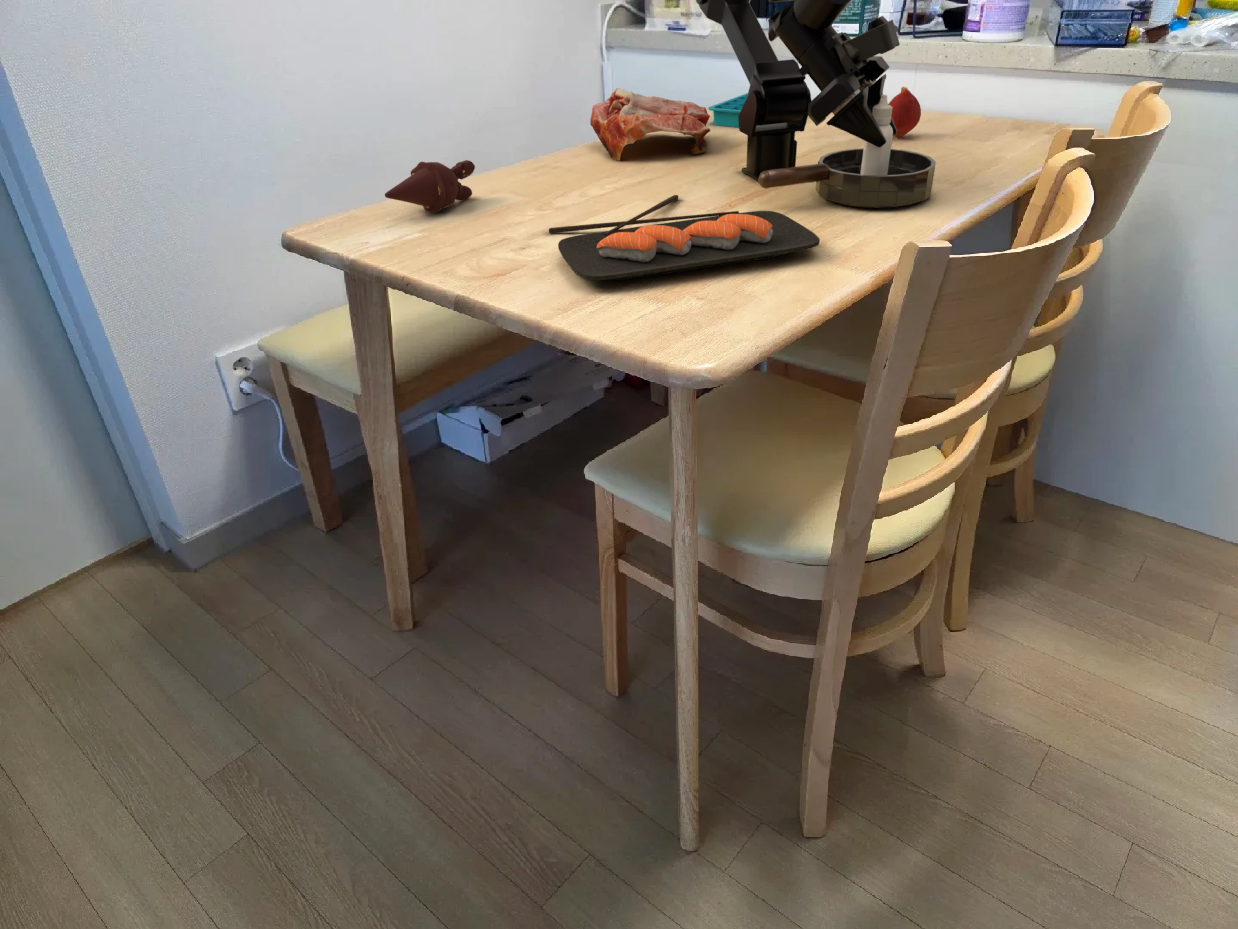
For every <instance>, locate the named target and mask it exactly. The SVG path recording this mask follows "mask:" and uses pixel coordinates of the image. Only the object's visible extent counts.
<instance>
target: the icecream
mask: <svg viewBox="0 0 1238 929" xmlns="http://www.w3.org/2000/svg"><path fill="white" fill-rule="evenodd" d="M475 169H476V165H475V164H474V162H472V161H471V160H468V159H466V160H462V161H459V162H457V163H456V164H455V165H454V166H452V167H451V168H449V167H448V166H446V165H444V164H443V163H441V162H438V161H428V162H426V161H420V162H418V163H417V165H416V166H415V167H414V168H412V169H411V171H410V176H408V177H407V178H406V179H404V180H402V181H400V182H399V183H398V184H396V185H395V186H394V187H392V188H391V189H389V190H388V191H386V192H385V193H384V197H385V198H386V199H389V200H394V201H400V202H404V203H409V204H413V205H417V206H422V207H423V209H424V211H425V212H428V213H429V212H430V213H434V214H438V213H439V212H440V211H441V210H442V209H445V208H447V207H450V206H452V205H453V204H454V203H455V202H456V201H462V202H463V201H466V200H469V199H470V198H471V197H472V195H473V190H472V189H471V187H469V186H468V185H464V184H462V182H460V181H459V180H461V181H462V180H464V179H466V178H468V177H470V176H471V175H473V173H474V171H475Z"/></svg>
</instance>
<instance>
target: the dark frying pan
mask: <svg viewBox="0 0 1238 929" xmlns="http://www.w3.org/2000/svg"><path fill="white" fill-rule="evenodd" d="M863 149H864V147H862V148H849V149H842V150H837V151H833V152H829V153H827V154H825V155H822V156H821V157H819V160H818V161H817V164H822V163H823V164H826V165H828V166H829V168H830V169H829V175H828V178H827V179H826V180H824V181H817V182H815V192H816V193H817V195H818V196H819V197H821V198H823V199H825V200H827V201H830V202H834V203H836V204H840V205H844V206H848V207H853V208H862V209H890V208H899V207H904V206H909V205H913V204H917V203H919V202H922V201H926V199H928V198H929V197H931V195H932V190H933V184H934V179H935V178H934V177H935V172H936V165H937V161H936V160H935V159H934V158H932V157H931V156H929V155H926V154H924V153H920V152H916V151H910V150H906V149H898V148H891V151H890V158H889V165H888V172H887V175H862V174H860V173H861V165H862V157H863Z"/></svg>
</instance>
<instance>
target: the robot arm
mask: <svg viewBox="0 0 1238 929" xmlns="http://www.w3.org/2000/svg"><path fill="white" fill-rule="evenodd" d="M767 1H768V2H769V3H779V2H788V3H787V4H786V5H785V6H784V7H783V9H782V10H778V11H776V13H774V14H773V15H772V16H770V18H768V20H767V22H768V32H767V34H768V35H766V33H765V31H764V29H763V27H762V25H761V23H760V21H759V19H758V17H757V15H756V13H755V11H754V9H753V8H752V6H751V0H695V2H696V4H697V5H698V7H699V9H700V10H701V12H702V13H703V15H704V16H705V18H707V19H708V20H710V21H712V22H715V23H716V24H719V25H721V26H722V29H723V30H724V33H725V35H726V37H727V39H728V41H729V43H730V45H731V47H732V49H733V52H734V54H735V56H736V58H737V60H738V62H739V64H740V66H741V68H742V71H743V72H744V75H745V77H746V79H747V81H748V83H749V88H748V90H747V91H748V92H747V93H748V95H747V99H746V101H745V103H744V105H743V107H742V109H741V111H740V114H739V116H738V121H739V127H738V130H739V132H740V133H742V134H744V135H746V136H747V137H746V138H747V139H746V140H747V141H746V164H745V165H746V166H745V167H742V168H741V172H742V173H744V174H745V175H747V176H749V177H750V178H752V179H754V180H756V181H758V178H759V175H760V174H761V173H762V172H763V171H767V170H775V169H782V168H790V167H797V165H796V164H797V149H798V141H797V140H796V139H795V138H796V132H800V133H802V132H805V129H806V126H807V121H808V117H809V119H811V121H812V122H813V124H814V125H815V126H816V127H818V126H819V125H821V124H822V123H823V122H824V121H825V120H827V118H828V116H829V115H830V114H833V116H831V118H830V119H829V120H827V121H826V122H825V123H826V125H827V126H832V127H835V128H836V129H838V130H841V131H844V132H846V133H848V134H850V135H852V136H855V137H856V138H859V139H860V140H863V141H867V142H869V143H871V144H873V145H875V146H877V147H882V146H883V145H884V144H885V143H886V139H885V137H884V135H883V133H882V131H881V129H880V127H879V126H878V124H877V122H876V120H875V118H874V117H873V115H872V112H873V107H874V106H875V105H877V104H879V102H880V99H881V96H882V95H884V88H885V87H884V86H885V81H886V79H887V73H885V72H887V71H888V70H889V69H890V65H889V64H888V63H887V62H886V60H885V59H884V58H883V56H879V55H883V54H885V53H888V52H890V51H892V50H894V49H895V48H896V47H899V46H900V45H901V43H900V40H899V36H898V31H899V27H898V26H897V25H896V24H895V22H894V20H893V19H891V20H889V21H888V20H887V18H886V17H885V16H883V15H881V16H879V17H877V18H875V19H872V20H870V21H869V22H868V24H867V29H866V30H867V31H865V32H863V33H861V34H859V35H857V36H854V37H853V38H851V37H850V35H849V34H848V33H847V32H844V31H841V32H839V33H838V31H837V30H836V29H835V28H834V27H833V24H834V22H836V20H838V18H839V17H840V15H841V14H842V13H843V11H844V10H845V9H846V8H847V7H848V5H849V4H850V3H851V1H852V0H767ZM767 36H768V37H767ZM777 38H779V39H780V41H781V42H782V43H783V45H784V46H786V47H785V48H786V49H787V50H788V51H789V52H790V54H791V55H792V57H794V58H793V59H782V60H779V59H778V57H777V55H776V53H775V51H774V49H773V47H772V45H771V43H770V42H774V40H776V39H777ZM799 65H800V66H799ZM807 75H808V77H809V78H810V79H811V80H812V81H813V83H814V84H815V85H816V87H817V88H818V89H819V91H820V92H819V93H818V94H817V95H816V96H815V97H814V98H813V99H812V94H811V90H810V88H809V87H808V84H807V83H806V81H805V80H806V79H807V77H806V76H807ZM889 124H890V126H891V127H892V129H893V137H894V136H895V134H896V133H897V129H896V127H895V124H894V122H893V119H892V117H891V121H890V123H889Z"/></svg>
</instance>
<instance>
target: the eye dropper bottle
mask: <svg viewBox="0 0 1238 929" xmlns="http://www.w3.org/2000/svg"><path fill="white" fill-rule="evenodd" d="M891 114H892V106H890V105H889V102H888V95H887V94H883V95H882V96H881V99H880V102H879V104H877V105H875V106H874V107H873V112H872V115H873V117H874V118H875V120H876V122H877V124H878V126H879V127H880V129H881V131H882V133H883V135H884V137H885V139H886V143H885V144H884V145H883V146H882V147H877V146H875V145H873V144H871V143H869V142H867V141H865V140H863V141H864V142H863V148H864V149H863V157H862V165H861V173H860V174H862V175H887V172H888V165H889V158H890V151H891V149H892V144H893V137H894V136H893V129H892V127H891V126H890V124H889V123H890V121H891Z"/></svg>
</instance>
